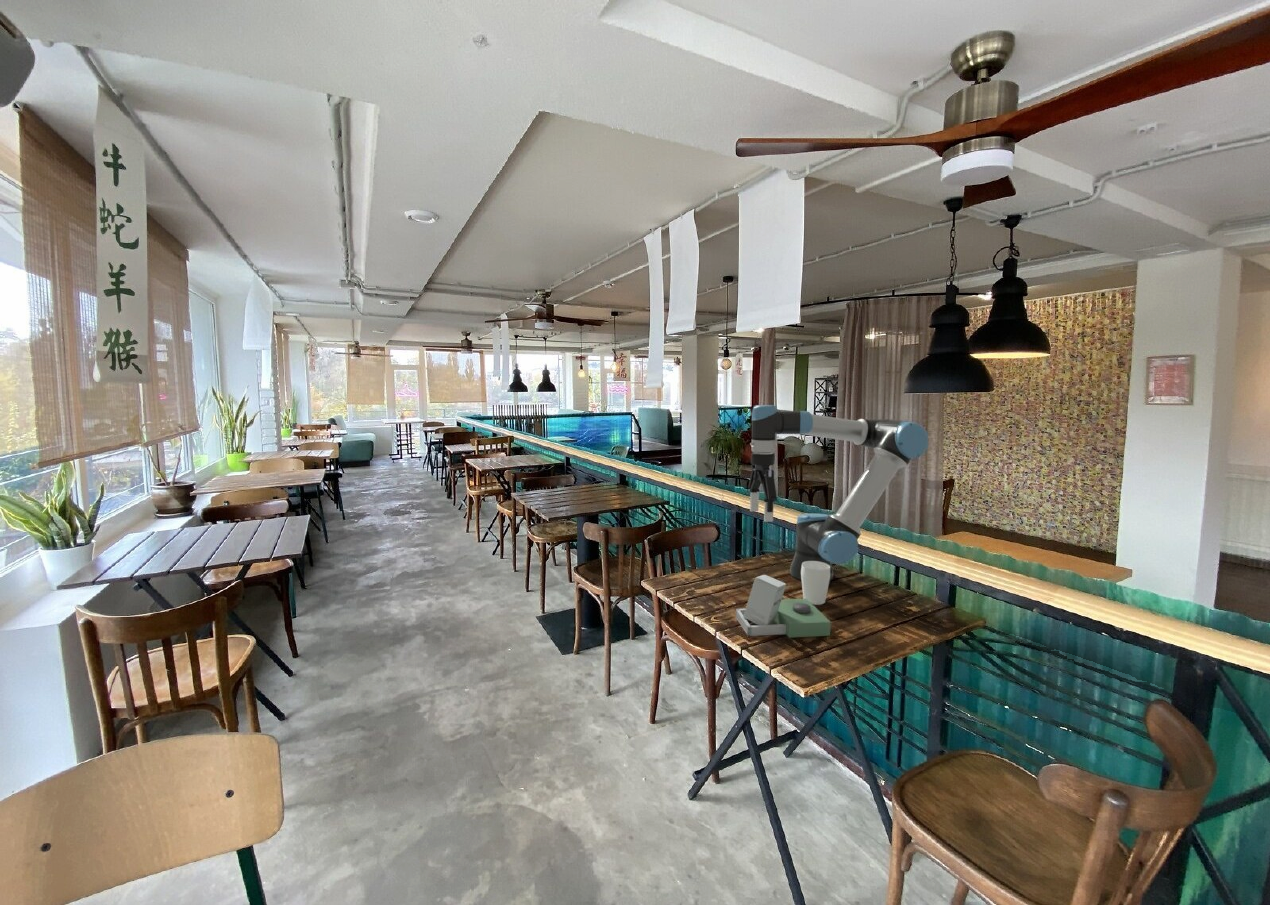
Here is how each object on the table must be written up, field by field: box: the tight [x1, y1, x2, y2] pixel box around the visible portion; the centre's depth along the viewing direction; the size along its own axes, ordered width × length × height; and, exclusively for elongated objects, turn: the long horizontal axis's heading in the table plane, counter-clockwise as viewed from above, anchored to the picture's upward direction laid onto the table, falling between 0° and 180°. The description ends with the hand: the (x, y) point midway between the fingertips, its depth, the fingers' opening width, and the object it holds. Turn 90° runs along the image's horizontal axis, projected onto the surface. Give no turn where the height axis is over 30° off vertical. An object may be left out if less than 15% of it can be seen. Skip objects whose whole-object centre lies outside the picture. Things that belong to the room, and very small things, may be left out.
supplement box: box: [743, 574, 787, 625], centre depth 148 cm, size 7×7×13 cm
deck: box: [734, 598, 832, 639], centre depth 149 cm, size 23×16×5 cm
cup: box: [801, 561, 831, 606], centre depth 165 cm, size 9×9×12 cm
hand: (761, 516), depth 169 cm, fingers open, 13 cm apart
